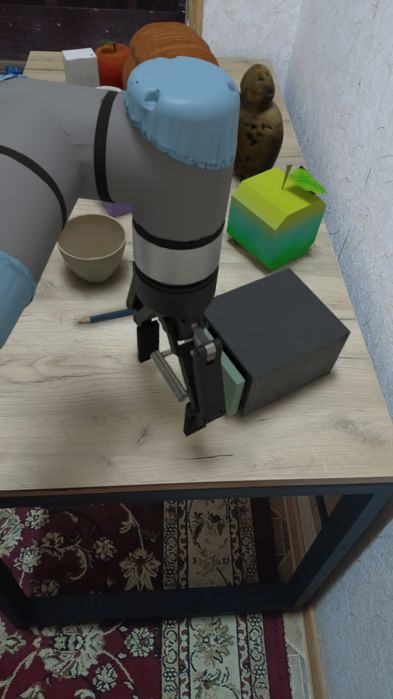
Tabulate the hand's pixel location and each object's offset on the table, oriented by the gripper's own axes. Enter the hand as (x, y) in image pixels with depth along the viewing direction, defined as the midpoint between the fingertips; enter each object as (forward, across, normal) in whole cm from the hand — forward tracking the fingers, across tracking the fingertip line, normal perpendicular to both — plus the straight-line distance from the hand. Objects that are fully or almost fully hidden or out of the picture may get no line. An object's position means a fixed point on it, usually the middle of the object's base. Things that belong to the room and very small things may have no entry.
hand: (170, 391), depth 61 cm
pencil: (+3, +16, -2) cm, 16 cm away
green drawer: (+2, 0, -9) cm, 9 cm away
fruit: (+3, +79, -29) cm, 84 cm away
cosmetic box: (+3, +70, -18) cm, 72 cm away
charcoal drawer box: (+3, 0, -14) cm, 14 cm away
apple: (+3, +19, -29) cm, 35 cm away
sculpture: (+3, +37, -37) cm, 53 cm away
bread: (+3, +60, -33) cm, 69 cm away
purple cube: (+3, +39, -11) cm, 41 cm away
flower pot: (+3, +26, -1) cm, 26 cm away
